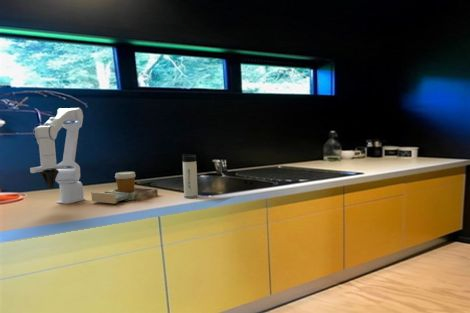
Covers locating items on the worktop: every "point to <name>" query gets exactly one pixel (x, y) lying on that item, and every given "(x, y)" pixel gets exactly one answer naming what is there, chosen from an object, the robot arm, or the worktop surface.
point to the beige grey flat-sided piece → (112, 196)
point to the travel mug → (190, 176)
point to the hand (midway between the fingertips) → (50, 188)
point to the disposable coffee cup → (125, 181)
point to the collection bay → (143, 193)
